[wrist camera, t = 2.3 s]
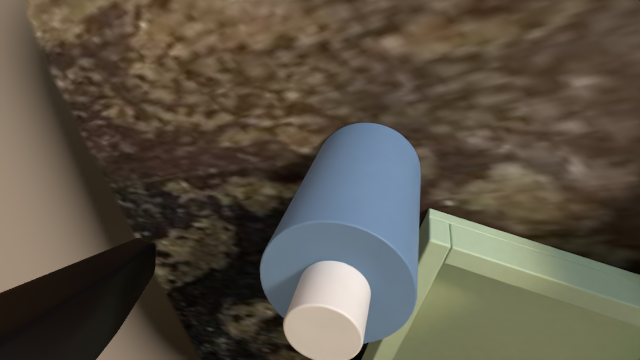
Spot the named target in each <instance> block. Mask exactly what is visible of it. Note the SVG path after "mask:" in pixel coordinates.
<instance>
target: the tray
mask: <svg viewBox="0 0 640 360" xmlns="http://www.w3.org/2000/svg"><path fill="white" fill-rule="evenodd" d="M361 360H640V275H638V274H635V273H632V272H629V271H625V270H622V269H619V268H616V267H613V266H610V265H607V264H603V263H600V262H597V261H594V260H591V259H588V258H584V257H581V256H578V255H575V254H572V253H569V252H566V251H562V250H559V249H556V248H553V247H550V246H547V245H543V244H540V243H537V242H534V241H531V240H528V239H525V238H521V237H518V236H515V235H512V234H509V233H506V232H502V231H499V230H496V229H493V228H490V227H487V226H484V225H480V224H477V223H474V222H471V221H468V220H465V219H461V218H458V217H455V216H452V215H449V214H446V213H443V212H439V211H436V210H433V209H428V212H427V214H426V216H425V218H424V221H423V223H422V225H421V227H420V230H419V250H418V285H417V301H416V306H415V308H414V311H413V313H412V315H411V317H410V318H409V320H408V321H407V322H406V323H405V324H404V326H403V327H402V328H400V329H399V330H398V331H397V332H395V333H393V334H392V335H390V336H388V337H386V338H384V339H381V340H378V341H375V342H370V343H369V344H368V346H367V348H366V350H365V353H364V355H363V357H362V359H361Z"/></svg>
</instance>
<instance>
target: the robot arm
mask: <svg viewBox="0 0 640 360" xmlns="http://www.w3.org/2000/svg"><path fill="white" fill-rule="evenodd" d="M155 261H156V246H155V244H154V243H153V242H151V241H148V240H145V239H142V238H136V239H133V240H131V241H129V242H126V243H123V244H121V245H119V246H116V247H113V248H111V249H109V250H106V251H104V252H101V253H99V254H96V255H94V256H91V257H89V258H86V259H84V260H81V261H79V262H77V263H74V264H71V265H69V266H66V267H64V268H61V269H59V270H56V271H54V272H51V273H49V274H46V275H44V276H41V277H39V278H36V279H34V280H31V281H29V282H26V283H24V284H22V285H19V286H16V287H14V288H12V289H9V290H6V291H4V292H1V293H0V360H96V359H97V358H98V356H99V355H100V354H101V352H102V351H103V350H104V348H105V347H106V346H107V345H108V344H109V342H110V341H111V340H112V338H113V337H114V336H115V334H116V333H117V332H118V330H119V329H120V327H121V326H122V324H123V322H124V321H125V319H126V318H127V316H128V315H129V313H130V311H131V310H132V308H133V307H134V305H135V303H136V302H137V300H138V299H139V297H140V295H141V294H142V292H143V291H144V289H145V287H146V286H147V284H148V283H149V281H150V279H151V278H152V276H153V274H154V271H155Z"/></svg>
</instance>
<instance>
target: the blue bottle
mask: <svg viewBox="0 0 640 360" xmlns="http://www.w3.org/2000/svg"><path fill="white" fill-rule="evenodd" d="M420 180H421V168H420V162H419V159H418V156H417V154H416V151H415V150H414V148H413V147H412V145H411V144H410V143H409V142H408V140H407V139H406V138H404V137H403V136H402V135H401V134H399V133H398V132H397V131H395V130H393V129H391V128H389V127H386V126H383V125H380V124H375V123H357V124H352V125H348V126H346V127H343V128H341V129H339V130H337V131H336V132H334V133H333V134H332V135H331V136H330V137H329V138H328V139H327V140H326V141H325V142H324V144H323V145H322V147H321V149H320V151H319V152H318V154H317V156H316V158H315V160H314V162H313V163H312V165H311V167H310V169H309V171H308V172H307V174H306V176H305V178H304V180H303V182H302V183H301V185H300V187H299V189H298V191H297V192H296V194H295V196H294V198H293V200H292V201H291V203H290V205H289V207H288V209H287V211H286V212H285V214H284V216H283V218H282V220H281V221H280V223H279V225H278V227H277V229H276V230H275V232H274V234H273V236H272V238H271V240H270V241H269V243H268V245H267V247H266V249H265V251H264V253H263V255H262V259H261V263H260V279H261V283H262V287H263V290H264V292H265V295H266V296H267V298H268V300H269V302H270V303H271V305H272V306H273V307H274V309H275V310H276V311H277V312H278V313H279V314H280V315H281V316H282V317H283V318H284V323H283V328H284V333H285V336H286V338H287V340H288V341H289V343H290V344H291V345H292V346H293V347H294V348H295V349H296V350H297V351H298V352H300V353H301V354H303V355H304V356H306V357H308V358H311V359H313V360H350V359H352V358H353V357H354V356H356V355H357V354H358V352H359V351H360V350H361V348H362V345H363V344H365V343H370V342H375V341H378V340H381V339H384V338H386V337H388V336H390V335H392V334H393V333H395V332H397V331H398V330H399V329H400V328H402V327H403V326H404V324H405V323H406V322H407V321H408V320H409V318H410V317H411V315H412V313H413V311H414V308H415V306H416V301H417V285H418V250H419V215H420Z"/></svg>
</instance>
